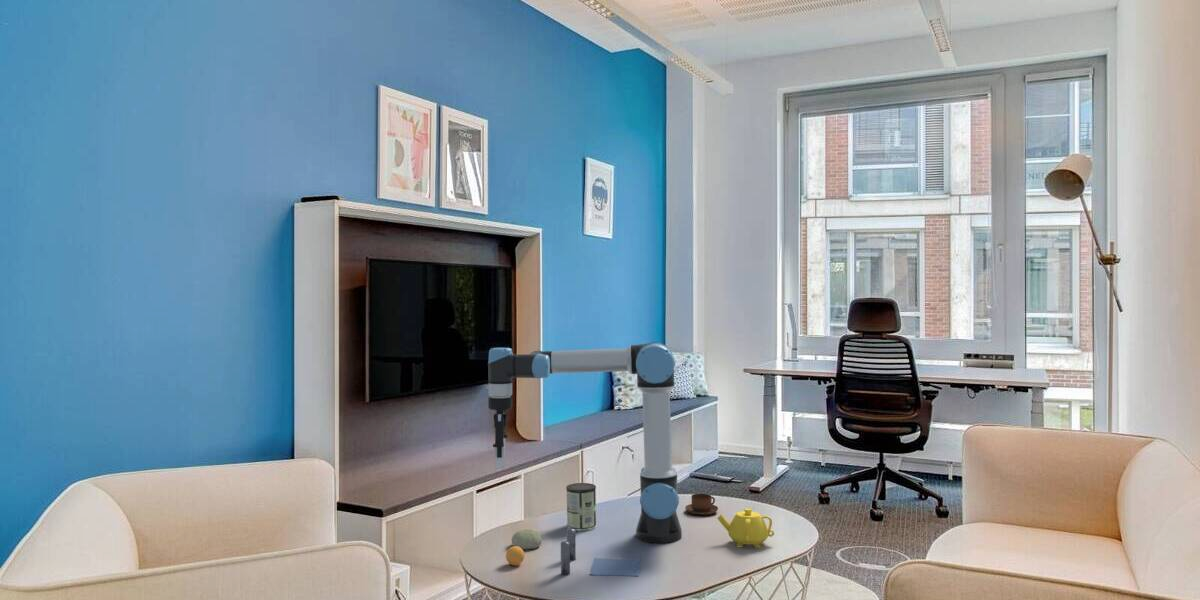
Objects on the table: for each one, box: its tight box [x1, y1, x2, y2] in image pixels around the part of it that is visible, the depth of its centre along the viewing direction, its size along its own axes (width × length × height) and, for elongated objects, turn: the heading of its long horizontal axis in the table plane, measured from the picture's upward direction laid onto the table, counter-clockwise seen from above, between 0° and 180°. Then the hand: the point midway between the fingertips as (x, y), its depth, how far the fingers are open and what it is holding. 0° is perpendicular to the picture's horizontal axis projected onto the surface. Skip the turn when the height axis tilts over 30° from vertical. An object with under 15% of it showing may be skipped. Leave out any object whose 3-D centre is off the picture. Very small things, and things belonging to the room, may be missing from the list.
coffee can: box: [565, 482, 597, 532], centre depth 273 cm, size 10×10×14 cm
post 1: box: [560, 540, 571, 576], centre depth 227 cm, size 3×3×9 cm
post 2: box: [566, 528, 577, 562], centre depth 239 cm, size 3×3×9 cm
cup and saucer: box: [685, 493, 719, 516], centre depth 290 cm, size 12×12×6 cm
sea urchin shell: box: [511, 528, 543, 550], centre depth 252 cm, size 9×8×8 cm
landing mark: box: [589, 557, 642, 577], centre depth 232 cm, size 14×14×1 cm
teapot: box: [716, 507, 775, 548], centre depth 253 cm, size 14×14×11 cm
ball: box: [505, 545, 525, 566], centre depth 234 cm, size 6×6×6 cm
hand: (500, 463), depth 251 cm, fingers open, 13 cm apart
